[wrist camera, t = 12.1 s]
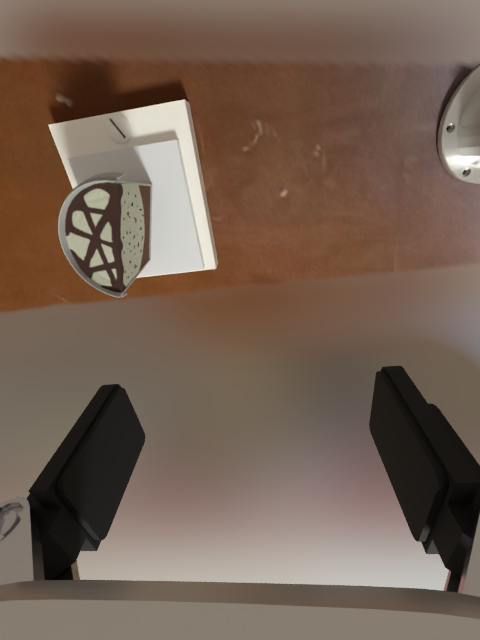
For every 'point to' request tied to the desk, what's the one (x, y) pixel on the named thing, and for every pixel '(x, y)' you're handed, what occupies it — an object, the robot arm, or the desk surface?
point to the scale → (149, 176)
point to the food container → (107, 231)
